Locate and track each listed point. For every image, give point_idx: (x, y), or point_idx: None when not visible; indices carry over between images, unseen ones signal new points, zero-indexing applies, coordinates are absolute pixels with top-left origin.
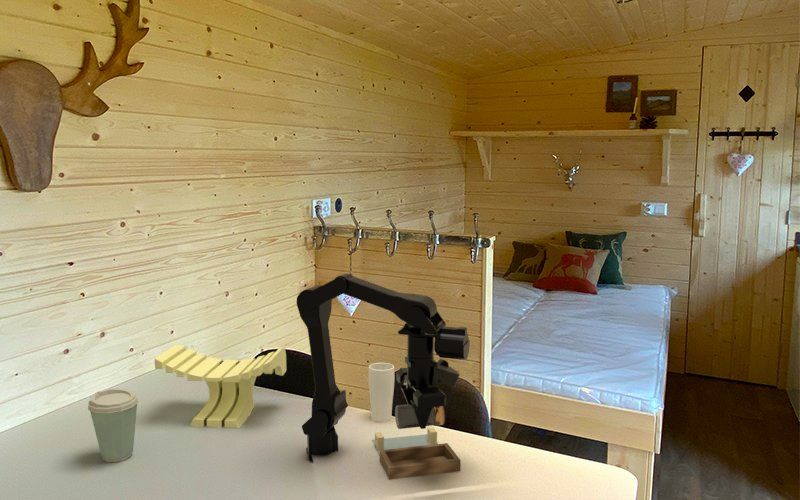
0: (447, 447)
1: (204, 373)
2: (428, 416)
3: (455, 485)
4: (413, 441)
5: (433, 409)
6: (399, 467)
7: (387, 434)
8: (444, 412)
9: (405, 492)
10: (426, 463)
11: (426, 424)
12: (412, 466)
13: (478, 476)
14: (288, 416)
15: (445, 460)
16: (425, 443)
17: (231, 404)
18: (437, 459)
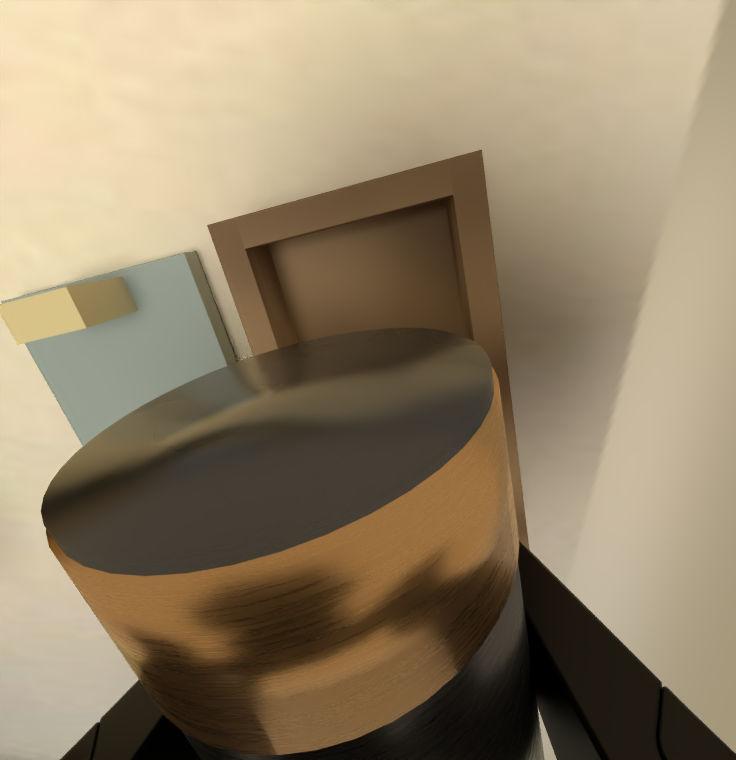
0: (277, 231)
1: None
2: (647, 678)
3: (576, 208)
4: (120, 395)
5: (487, 657)
6: (524, 513)
7: (48, 484)
8: (483, 400)
9: (594, 449)
10: (503, 385)
11: (541, 565)
12: (517, 454)
13: (487, 36)
14: (11, 739)
15: (475, 265)
16: (130, 338)
17: None
18: (318, 290)
